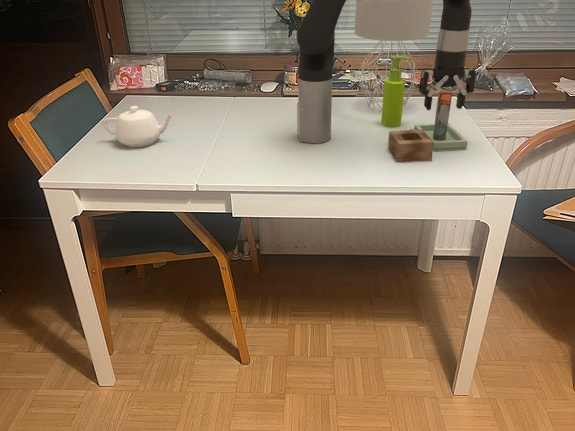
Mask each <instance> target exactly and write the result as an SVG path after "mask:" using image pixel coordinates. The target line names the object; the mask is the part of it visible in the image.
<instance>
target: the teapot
mask: <svg viewBox="0 0 575 431" xmlns="http://www.w3.org/2000/svg"><path fill="white" fill-rule="evenodd" d="M129 109H130V110H128V111H124V112H122V113H120V114H119V115H118V116H117V117H108V118H104V119H103V120H102V121H101V126H102V128H104V130H105V131H107V132H108V133H109V134H111V135H115V138H116V140H117V141H118V142H119V143H121V144H123V145H124V146H126V147H127V148H128V147H129V148H141V147H142V148H143V147H148V146H150V145H152V144H154V143H155V142H156V141H157V140H158V138H159V137H160V135H162V134H163V133H164V132H165V131H166V129H167V128H168V126H169V122H170V119H171V118H172V117H174V114H171V113H169V114H167V115H166V117H165V118H164V122H163V123H162V124H161V125H159V122H158V120H157V118H156V117H155V115H154V114H153V113H152V112H151V111H149V110H147V109H146V110H145V109H139V106H137V105H132V106H130V108H129ZM108 122H109V123H110V122H115V129H113V128H111V127H110V126H109V125H108Z"/></svg>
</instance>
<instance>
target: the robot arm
mask: <svg viewBox="0 0 575 431" xmlns="http://www.w3.org/2000/svg"><path fill="white" fill-rule="evenodd" d="M346 1H347V0H312V1H311V4H310V6H309V7H308V9H307V11H306V13H305V15H304V17H303V18H302V20H301V22H300V23H299V25H298V27H297V31H296V43H297V45H298V47H299V60H298V67H297V68H298V70H297V72H298V73H297V77H298V78H297V80H298V82H297V84H298V85H297V86H298V87H297V89H298V90H297V97H298V98H297V104H296V114H297V115H296V116H297V117H296V122H297V124H296V128H297V129H296V133H297V138H298V142H299V143H309V144H322V143H326V142H328V141H330V140H331V138H332V136H331V134H332V108H333V106H332V105H333V104H332V103H333V101H332V100H333V75H334V74H333V73H334V64H335V40H336V39H335V38H336V34H335V33H336V32H335V30H336V27H337V24H338V20H339V18H340V15H341V12H342V10H343V8H344V6H345V5H346V4H345V3H346ZM470 1H471V0H442V13H441V19H440V26H439V27H440V29H439V32H438V36H437V40H436V50H435V51H436V52H435V59H434V68H433V70H432V71H431V70H426V69H422V70H421V74H420V78H419V83H418V84H419V86H418V92H419V93H420V94H421V95H423V96H424V101H423V106H424V107H425V109H426V110H427V111H431V110H432V103H433V102H432V101H433V95H434V94H435V93H436V92H437V91H438V90H439V89H440V88H448V87H449V88H454V87H456V89H457V91H458V92H459V93H457V95H456V96H457V97H456V104H455V108H457V109H458V110H459V109H460V110H461V109H462V107H464V106H465V100H466V96H467V94H469V93H471V94H472V93H474V91H475V82H476V74H477V73H476V72H477V71H476V70H475V69H473V68H472V67H469V68H468V69H465V67H466V66H465V65H466V60H467V54H468V53H467V52H468V45H469V39H470V26H471V21H472V20H471V18H472V7H471V6H472V5H471V3H470ZM431 77H433V80H432V81H431V82H430V83H429V86H428V82H429V80H430V79H431ZM463 77H466V83H465V86H464V84H463V83H462V80H461V79H463Z"/></svg>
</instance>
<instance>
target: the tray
mask: <svg viewBox="0 0 575 431" xmlns="http://www.w3.org/2000/svg"><path fill="white" fill-rule="evenodd" d="M434 124H435V123H424V124H414V128H413V130H423V131H424V132H425V133H426V134H427V135H428V136H429V137H430V138H431V140H432V141H433V142H434V145H433V152H432V153H435V152H450V151H451V152H452V151H466V150H467V146H468V140H467V139H466V138H465V137H463V135H461V133H460V132H458V130H456V129H455V128H454V127H453V126H452V125H451V124H450V123H449V122H448V126H447V133H446V139H445V140H443V141H438V140H434V139H433V131H434Z"/></svg>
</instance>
